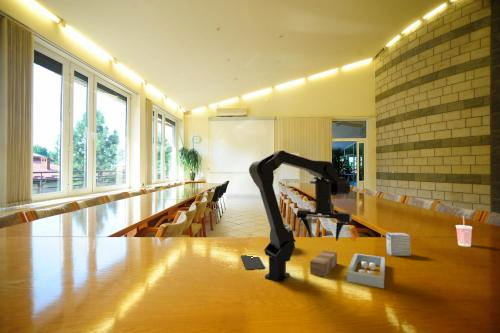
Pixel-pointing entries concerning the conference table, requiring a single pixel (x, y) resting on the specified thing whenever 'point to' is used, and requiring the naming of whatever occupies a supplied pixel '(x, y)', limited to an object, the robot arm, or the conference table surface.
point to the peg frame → (369, 277)
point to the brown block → (323, 263)
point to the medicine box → (398, 244)
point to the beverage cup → (464, 234)
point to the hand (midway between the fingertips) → (323, 239)
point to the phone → (252, 262)
